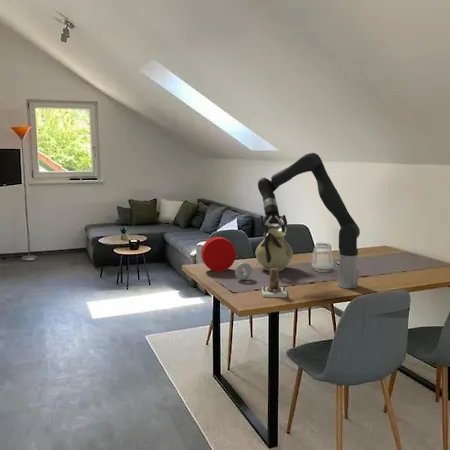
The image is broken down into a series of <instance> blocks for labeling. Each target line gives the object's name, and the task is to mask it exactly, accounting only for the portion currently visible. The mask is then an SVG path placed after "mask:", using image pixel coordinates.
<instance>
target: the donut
mask: <svg viewBox="0 0 450 450" xmlns="http://www.w3.org/2000/svg"><path fill="white" fill-rule="evenodd" d="M244 269H245V272H244V273H242V270H244ZM252 271H253V268H252V266H251V265H250V264H249V263H248V262H240V263H238V264H237V265H236V267H235V271H234V273H235V274H234V275H235V277H236V278H237V279H239V280H240V281H245V280H247V279H249V278H250V277H251V275H252V274H253V273H252Z"/></svg>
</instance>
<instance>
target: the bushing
mask: <svg viewBox="0 0 450 450" xmlns="http://www.w3.org/2000/svg"><path fill="white" fill-rule="evenodd" d="M279 272H280V271H279V269H278V268H271V269H270V271H269V286H266V287H267V291H268V292H273V289H276V292H280V291H281V288H280V287H281V286H279V283H280V282H279V277H280V276H279V274H280V273H279Z"/></svg>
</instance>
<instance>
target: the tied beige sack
mask: <svg viewBox="0 0 450 450" xmlns="http://www.w3.org/2000/svg"><path fill="white" fill-rule="evenodd" d="M284 227H285V231H284V233H282V229H281V226H279V227H278V226H275V225H268V233H266V232H265V231H264V233H263V239H262V241H261V242H260V243H259V244H258V245H257V247H256V249H255V252H254V253H255V257H256V260H257V262H258V263H259V265H261V267H263V270H265V271H267V272H270V269H271V268H278V269H279V272H282V271H284V270H285V268H286V267H287V266H288V265H289V264H290V263H291V261H292V260H293V256H294V251H293V248H292V246H291V244H289V243H288V242H287V240H286V239H285V237H286V235H287V231H288V229H287V226H284Z"/></svg>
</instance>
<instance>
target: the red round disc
mask: <svg viewBox="0 0 450 450" xmlns="http://www.w3.org/2000/svg"><path fill="white" fill-rule="evenodd" d="M236 253H237V252H236V249H235V247H234V245H233V244H232V242H231V241H230V240H228V239H227V238H225V237H222V236H214V237H213V236H212V237H211V238H209V239H208V240H206V241H205V242H204V244H203V245H202V247H201V251H200V256H201V260H202V262H203V263H204V265H205V266H206V268H207V269H209V270H211V271H213V272H217V273H218V272H223V271H226V270H228V269H230V268H231V267H232V266H233V264H234V262H235V260H236V256H237V254H236Z"/></svg>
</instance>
